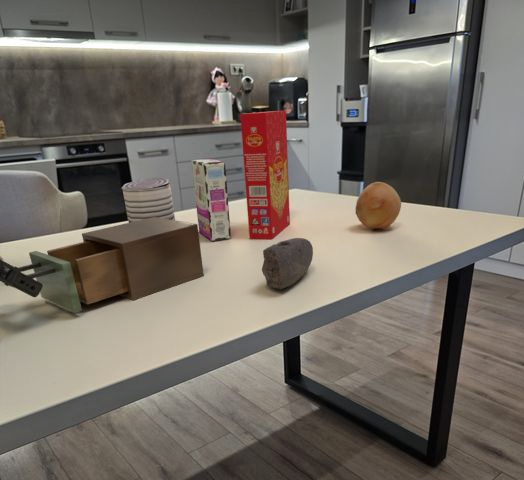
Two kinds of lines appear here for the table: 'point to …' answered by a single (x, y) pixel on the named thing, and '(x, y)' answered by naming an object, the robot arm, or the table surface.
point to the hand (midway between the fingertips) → (28, 286)
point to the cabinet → (154, 253)
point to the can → (148, 199)
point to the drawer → (78, 273)
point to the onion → (378, 205)
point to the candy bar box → (211, 198)
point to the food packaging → (266, 172)
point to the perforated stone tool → (286, 262)
